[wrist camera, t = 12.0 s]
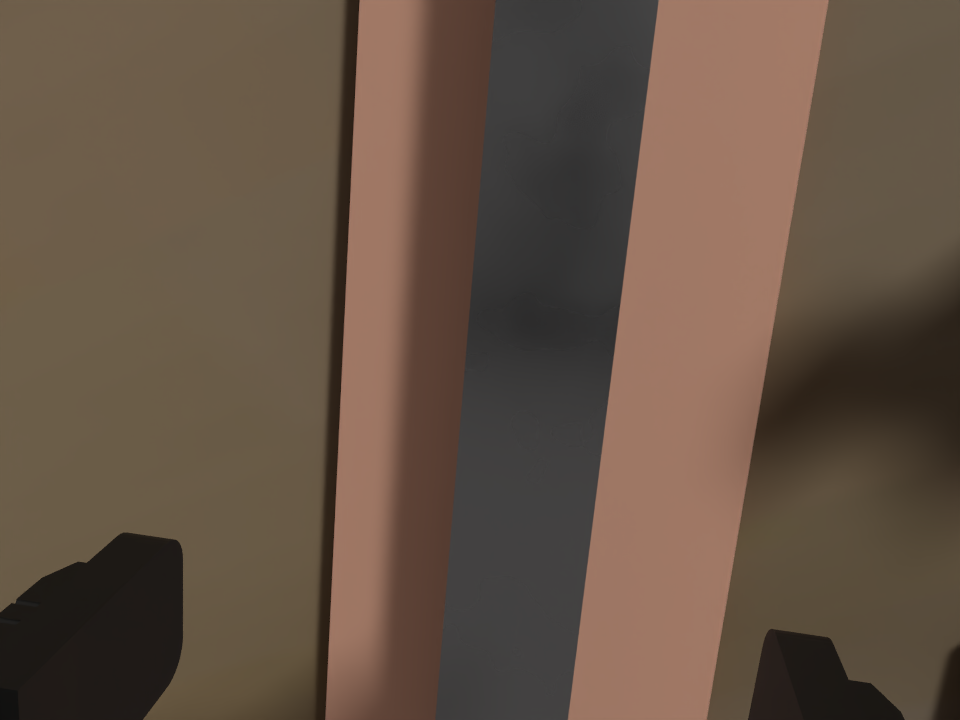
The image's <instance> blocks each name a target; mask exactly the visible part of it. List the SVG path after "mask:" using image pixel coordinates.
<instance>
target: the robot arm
mask: <svg viewBox="0 0 960 720" xmlns="http://www.w3.org/2000/svg"><path fill="white" fill-rule="evenodd" d="M182 642H183V554H182V548H181V545H180V543H179V542H178V541H177V540H173V539H167V538H160V537H153V536H146V535H140V534H133V533H122V534H120V535H118V536H117V537H116V538H115V539H114V540H112V541H111V542H110V543H109V544H108V545H107V546H106V547H104V548H103V549H102V550H101V551H100V552H99V553H98V554H96V555H95V556H94V557H93V558H92V559H91V560H90V561H88V562H87V563H84V562H76V563H74V564H72V565H70V566H67V567H65V568H63V569H61V570H58V571H56V572H54V573H52V574H49V575H47V576H45V577H43V578H41V579H40V580H39V581H38V582H36V583H35V584H34V585H33V586H32V587H30V588H29V589H28V590H27V591H26V592H24V593H23V594H22V595H21V596H20V597H18V598H17V601H16V603H15V604H14V603H11V604H10V605H9V606H8V607H6V608H5V609H4V610H3V611H2V612H0V720H143V719H144V717H145V716H146V715H147V713H148V712H149V711H150V709H151V708H152V707H153V705H154V704H155V703H156V701H157V700H158V699H159V697H160V696H161V695H162V693H163V692H164V691H165V689H166V688H167V687H168V685H169V684H170V682H171V680H172V678H173V676H174V674H175V671H176V669H177V666H178V663H179V659H180V655H181V650H182ZM748 720H905V719H904V717H903V715H902V713H901V712H900V711H899V710H898V709H897V708H896V707H895V706H894V705H893V704H892V703H891V702H890V701H889V700H888V699H887V698H886V697H885V696H884V695H883V694H882V693H881V692H879V691H878V690H877V689H876V688H875V687H874V686H873V685H872V684H871V683H865V682H858V681H852V680H848V677H847V675H846V673H845V670H844V668H843V666H842V663H841V661H840V659H839V656H838V654H837V652H836V649H835V647H834V645H833V643H832V641H831V639H830V638H828V637H822V636H815V635H808V634H801V633H795V632H788V631H781V630H774V629H770V630H769V631H768V633H767V634H766V637H765V640H764V643H763V648H762V653H761V658H760V663H759V668H758V673H757V678H756V683H755V688H754V693H753V698H752V703H751V708H750V713H749V718H748Z"/></svg>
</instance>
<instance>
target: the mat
mask: <svg viewBox="0 0 960 720" xmlns="http://www.w3.org/2000/svg"><path fill="white" fill-rule="evenodd" d="M495 1H496V0H360V4H359V25H358V46H357V67H356V88H355V109H354V130H353V151H352V172H351V193H350V214H349V235H348V256H347V276H346V297H345V318H344V339H343V360H342V381H341V402H340V423H339V444H338V465H337V486H336V507H335V528H334V549H333V570H332V591H331V612H330V633H329V654H328V675H327V696H326V717H325V720H435V717H436V705H437V693H438V681H439V669H440V657H441V646H442V634H443V622H444V610H445V598H446V586H447V574H448V562H449V550H450V538H451V526H452V514H453V502H454V490H455V478H456V466H457V454H458V443H459V431H460V419H461V407H462V395H463V383H464V371H465V359H466V347H467V335H468V323H469V311H470V299H471V287H472V275H473V263H474V251H475V240H476V228H477V216H478V204H479V192H480V180H481V168H482V156H483V144H484V132H485V120H486V108H487V96H488V84H489V72H490V60H491V48H492V37H493V25H494V13H495ZM828 1H829V0H659V2H658V10H657V18H656V26H655V34H654V42H653V50H652V58H651V66H650V74H649V82H648V90H647V97H646V105H645V113H644V121H643V129H642V137H641V145H640V153H639V161H638V169H637V177H636V185H635V193H634V200H633V208H632V216H631V224H630V232H629V240H628V248H627V256H626V264H625V272H624V280H623V288H622V295H621V303H620V311H619V319H618V327H617V335H616V343H615V351H614V359H613V367H612V375H611V383H610V391H609V398H608V406H607V414H606V422H605V430H604V438H603V446H602V454H601V462H600V470H599V478H598V486H597V494H596V501H595V509H594V517H593V525H592V533H591V541H590V549H589V557H588V565H587V573H586V581H585V589H584V596H583V604H582V612H581V620H580V628H579V636H578V644H577V652H576V660H575V668H574V676H573V684H572V692H571V699H570V707H569V715H568V720H707V714H708V708H709V702H710V696H711V690H712V685H713V679H714V673H715V667H716V661H717V655H718V649H719V643H720V637H721V631H722V626H723V620H724V614H725V608H726V602H727V596H728V590H729V584H730V578H731V573H732V567H733V561H734V555H735V549H736V543H737V537H738V531H739V525H740V519H741V514H742V508H743V502H744V496H745V490H746V484H747V478H748V472H749V466H750V461H751V455H752V449H753V443H754V437H755V431H756V425H757V419H758V413H759V408H760V402H761V396H762V390H763V384H764V378H765V372H766V366H767V360H768V354H769V349H770V343H771V337H772V331H773V325H774V319H775V313H776V307H777V301H778V296H779V290H780V284H781V278H782V272H783V266H784V260H785V254H786V248H787V243H788V237H789V231H790V225H791V219H792V213H793V207H794V201H795V195H796V189H797V184H798V178H799V172H800V166H801V160H802V154H803V148H804V142H805V136H806V131H807V125H808V119H809V113H810V107H811V101H812V95H813V89H814V83H815V77H816V72H817V66H818V60H819V54H820V48H821V42H822V36H823V30H824V24H825V19H826V13H827V7H828Z"/></svg>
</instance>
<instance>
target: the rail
mask: <svg viewBox="0 0 960 720" xmlns="http://www.w3.org/2000/svg"><path fill="white" fill-rule="evenodd" d="M658 2H659V0H496V1H495V13H494V25H493V37H492V48H491V60H490V72H489V84H488V96H487V108H486V120H485V132H484V144H483V156H482V168H481V180H480V192H479V204H478V216H477V228H476V240H475V251H474V263H473V275H472V287H471V299H470V311H469V323H468V335H467V347H466V359H465V371H464V383H463V395H462V407H461V419H460V431H459V443H458V454H457V466H456V478H455V490H454V502H453V514H452V526H451V538H450V550H449V562H448V574H447V586H446V598H445V610H444V622H443V634H442V646H441V657H440V669H439V681H438V693H437V705H436V717H435V720H568V715H569V707H570V699H571V692H572V684H573V676H574V668H575V660H576V652H577V644H578V636H579V628H580V620H581V612H582V604H583V596H584V589H585V581H586V573H587V565H588V557H589V549H590V541H591V533H592V525H593V517H594V509H595V501H596V494H597V486H598V478H599V470H600V462H601V454H602V446H603V438H604V430H605V422H606V414H607V406H608V398H609V391H610V383H611V375H612V367H613V359H614V351H615V343H616V335H617V327H618V319H619V311H620V303H621V295H622V288H623V280H624V272H625V264H626V256H627V248H628V240H629V232H630V224H631V216H632V208H633V200H634V193H635V185H636V177H637V169H638V161H639V153H640V145H641V137H642V129H643V121H644V113H645V105H646V97H647V90H648V82H649V74H650V66H651V58H652V50H653V42H654V34H655V26H656V18H657V10H658Z"/></svg>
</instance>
